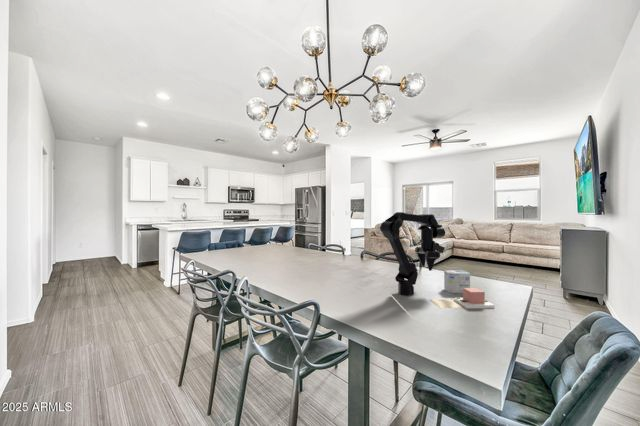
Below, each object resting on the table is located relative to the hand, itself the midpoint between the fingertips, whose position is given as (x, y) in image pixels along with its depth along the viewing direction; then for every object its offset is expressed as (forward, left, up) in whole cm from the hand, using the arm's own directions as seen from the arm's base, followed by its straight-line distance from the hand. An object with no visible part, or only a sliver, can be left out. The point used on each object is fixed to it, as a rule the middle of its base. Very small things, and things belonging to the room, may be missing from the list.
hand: (426, 268), depth 138 cm
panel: (+12, -21, -12) cm, 27 cm away
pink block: (+12, -21, -10) cm, 26 cm away
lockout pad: (0, -20, -12) cm, 23 cm away
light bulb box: (+15, -2, -12) cm, 19 cm away
